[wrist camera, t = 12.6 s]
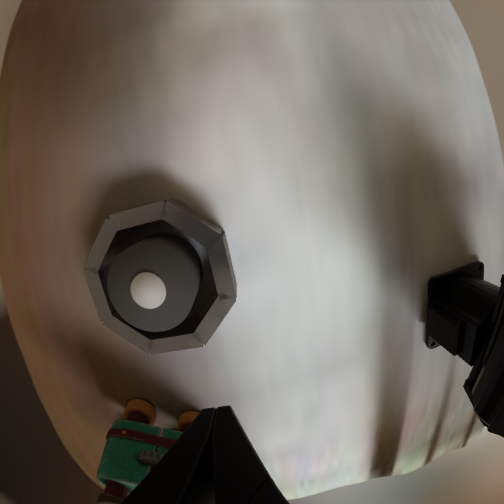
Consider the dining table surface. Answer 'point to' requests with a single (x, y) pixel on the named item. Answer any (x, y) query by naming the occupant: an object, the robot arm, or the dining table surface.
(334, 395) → the dining table surface
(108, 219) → the barrel ring
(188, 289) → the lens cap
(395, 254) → the dining table surface
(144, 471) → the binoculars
